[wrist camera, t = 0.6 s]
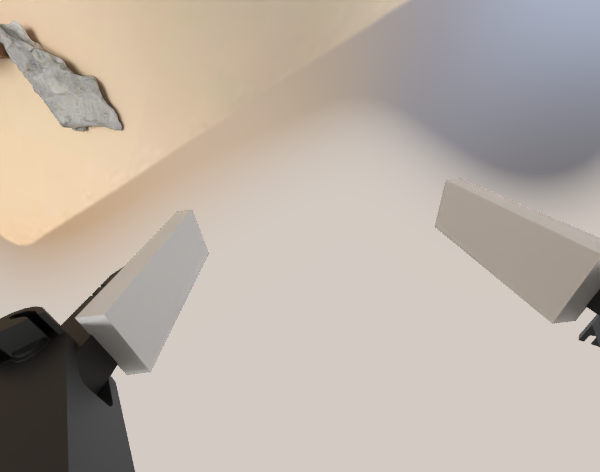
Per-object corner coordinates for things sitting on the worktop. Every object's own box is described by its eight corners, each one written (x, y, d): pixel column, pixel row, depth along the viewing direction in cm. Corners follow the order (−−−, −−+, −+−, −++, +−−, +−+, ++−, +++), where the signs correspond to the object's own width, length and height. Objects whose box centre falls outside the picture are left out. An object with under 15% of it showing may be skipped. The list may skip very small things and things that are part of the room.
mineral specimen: (71, 19, 27) (36, 2, 23) (128, 127, 32) (108, 127, 28) (20, 35, 27) (-22, 19, 23) (86, 139, 32) (60, 141, 29)
